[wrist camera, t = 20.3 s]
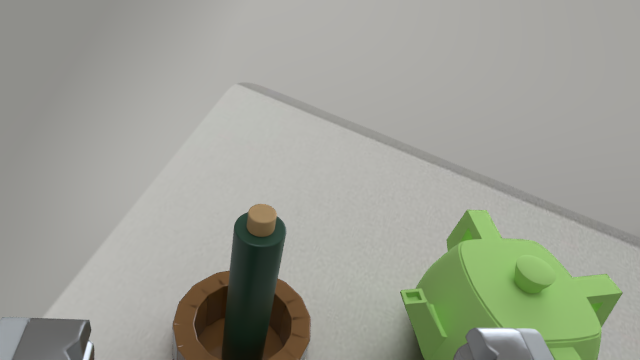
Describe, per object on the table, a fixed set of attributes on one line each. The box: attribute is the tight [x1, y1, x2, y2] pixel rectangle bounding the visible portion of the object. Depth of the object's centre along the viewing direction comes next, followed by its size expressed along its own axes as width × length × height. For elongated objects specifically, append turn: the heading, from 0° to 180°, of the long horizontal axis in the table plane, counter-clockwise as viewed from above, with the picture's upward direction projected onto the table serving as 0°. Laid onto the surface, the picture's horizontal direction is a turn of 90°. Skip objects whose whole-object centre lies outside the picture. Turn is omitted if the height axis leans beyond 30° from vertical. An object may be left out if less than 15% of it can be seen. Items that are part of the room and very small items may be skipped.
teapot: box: [400, 210, 622, 360], centre depth 31 cm, size 12×12×10 cm
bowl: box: [173, 271, 311, 360], centre depth 31 cm, size 8×8×4 cm
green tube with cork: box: [222, 204, 286, 360], centre depth 28 cm, size 3×3×12 cm
